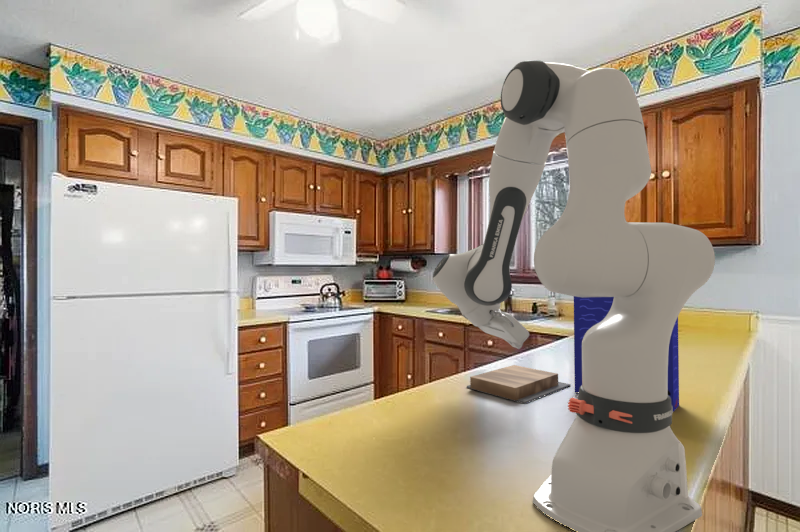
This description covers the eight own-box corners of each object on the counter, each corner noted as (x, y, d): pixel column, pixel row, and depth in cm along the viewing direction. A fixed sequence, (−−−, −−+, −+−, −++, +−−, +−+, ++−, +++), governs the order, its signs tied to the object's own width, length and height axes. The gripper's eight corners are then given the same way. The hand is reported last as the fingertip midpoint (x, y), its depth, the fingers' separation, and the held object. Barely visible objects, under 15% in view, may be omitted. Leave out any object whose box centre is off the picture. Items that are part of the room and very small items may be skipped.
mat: (525, 403, 99) (525, 401, 99) (466, 387, 113) (466, 385, 113) (570, 386, 113) (570, 384, 113) (513, 373, 127) (513, 372, 127)
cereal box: (679, 405, 97) (677, 276, 97) (673, 412, 93) (671, 277, 93) (583, 387, 112) (582, 276, 112) (574, 392, 108) (573, 276, 108)
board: (515, 387, 100) (558, 373, 113) (470, 376, 111) (513, 364, 124) (515, 400, 100) (558, 384, 113) (470, 388, 111) (514, 375, 124)
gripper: (511, 303, 95) (549, 344, 97) (474, 297, 115) (507, 331, 117) (493, 323, 94) (532, 364, 96) (459, 314, 113) (492, 348, 116)
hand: (518, 346), depth 106 cm, fingers closed
